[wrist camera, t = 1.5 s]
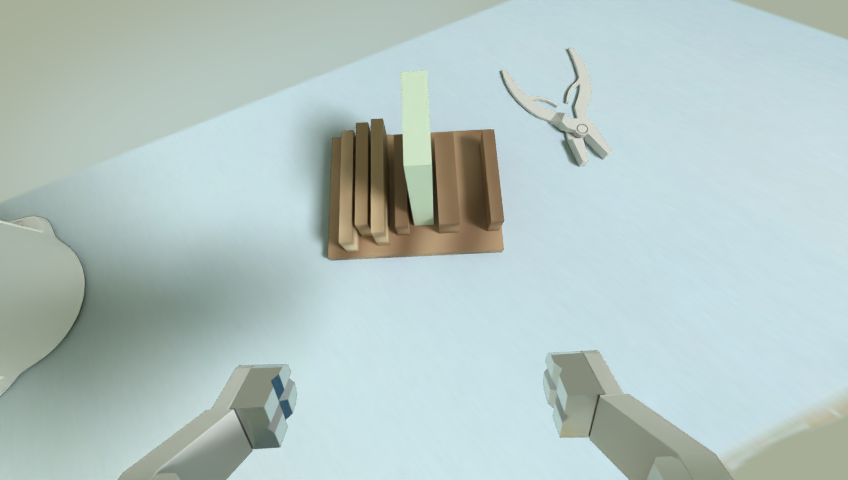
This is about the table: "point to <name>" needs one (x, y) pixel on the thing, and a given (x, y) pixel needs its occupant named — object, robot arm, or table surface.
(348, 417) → the table surface
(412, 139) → the pale green flat block
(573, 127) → the pliers
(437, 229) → the offcut rack
